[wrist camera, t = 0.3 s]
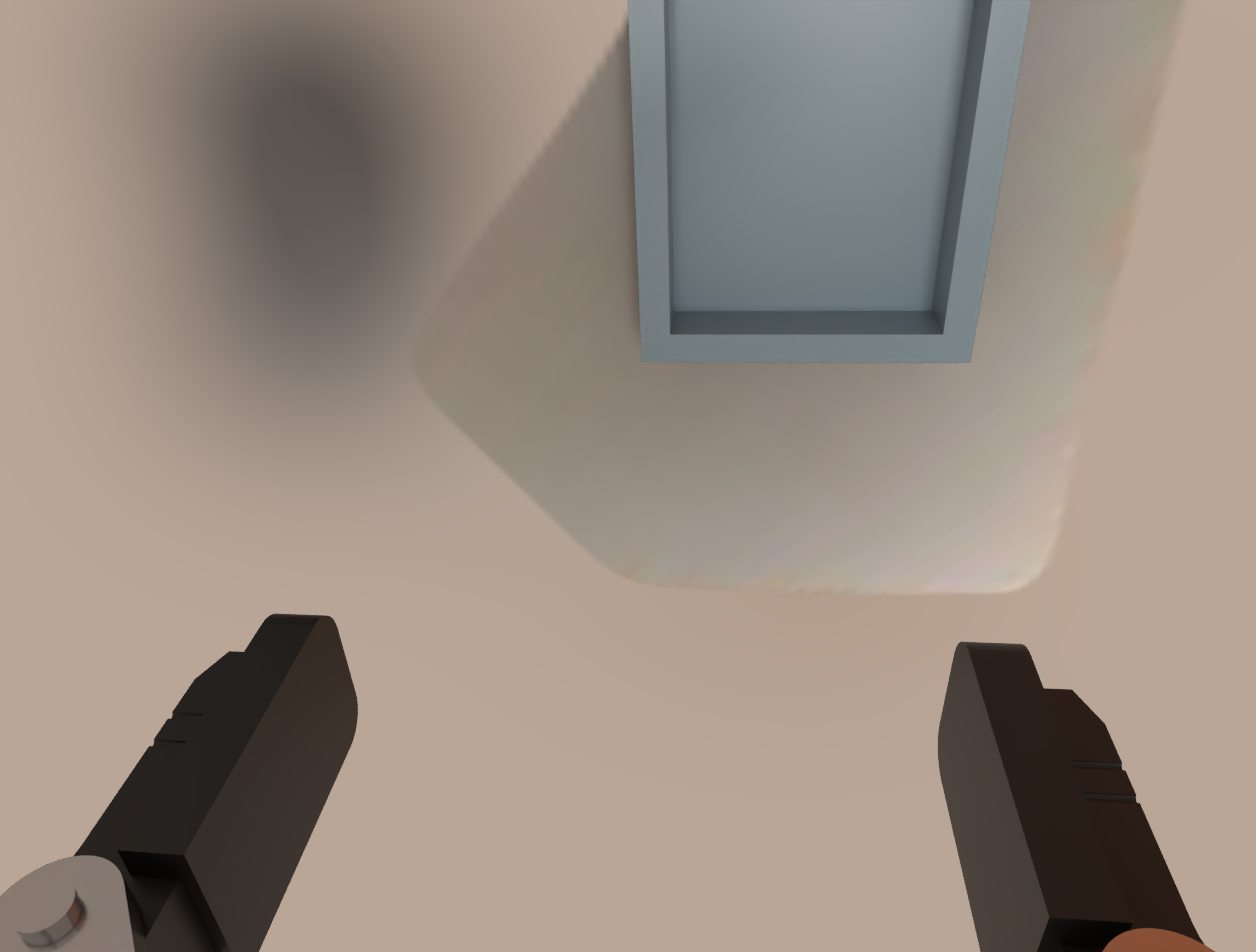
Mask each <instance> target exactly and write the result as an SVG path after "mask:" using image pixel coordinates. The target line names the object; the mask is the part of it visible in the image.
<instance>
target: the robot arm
mask: <svg viewBox="0 0 1256 952" xmlns="http://www.w3.org/2000/svg"><path fill="white" fill-rule="evenodd" d="M172 713H173V716H172V718H171V719H168V720H167V721H166V722H165V724H164V725H163V727H162V728H161V730H160V731H159V733H158V734H157V736H156V737H155V739H154V745H153V746H149V747H148V749H147V750H146V752H145V753H144V755H143V756H142V758H141V759H140V760H139V762H138V763H137V765H136V766H135V768H134V769H133V771H132V772H131V774H130V775H129V777H128V778H127V780H126V781H125V783H124V784H123V786H122V787H121V788H120V790H119V791H118V793H117V794H116V796H115V797H114V799H113V800H112V802H111V803H110V804H109V806H108V807H107V809H106V810H105V812H104V813H103V815H102V816H101V818H100V819H99V821H98V822H97V824H96V825H95V827H94V828H93V829H92V831H91V832H90V834H89V836H88V837H87V838H86V840H85V841H84V843H83V844H82V846H81V847H80V848H79V850H78V851H77V852H76V853H75V855H74V856H73V857H68V858H64V859H60V860H57V861H54V862H52V863H49V864H46V865H44V866H42V867H40V868H39V869H36V870H34V871H33V872H31V873H29V874H28V875H26V876H25V877H23V878H21V879H20V880H19V881H17V882H16V883H15V884H14V885H12V886H11V887H10V888H9V889H7V890H6V891H5V892H4V893H3V894H2V895H1V896H0V952H259V950H260V948H261V945H262V943H263V941H264V939H265V936H266V934H267V932H268V930H269V928H270V925H271V923H272V921H273V918H274V916H275V914H276V912H277V910H278V908H279V905H280V903H281V901H282V899H283V896H284V894H285V892H286V889H287V887H288V885H289V883H290V881H291V878H292V876H293V874H294V872H295V870H296V867H297V865H298V863H299V861H300V858H301V856H302V854H303V852H304V849H305V847H306V845H307V843H308V841H309V838H310V836H311V834H312V831H313V829H314V827H315V825H316V823H317V820H318V818H319V816H320V813H321V811H322V809H323V807H324V805H325V803H326V800H327V798H328V796H329V794H330V791H331V789H332V787H333V785H334V782H335V780H336V778H337V775H338V773H339V771H340V769H341V767H342V764H343V762H344V760H345V758H346V755H347V753H348V751H349V749H350V747H351V744H352V742H353V738H354V735H355V731H356V724H357V716H358V704H357V697H356V692H355V689H354V685H353V682H352V679H351V675H350V671H349V668H348V664H347V661H346V657H345V654H344V650H343V646H342V643H341V639H340V635H339V632H338V628H337V626H336V623H335V621H334V620H333V619H332V618H331V617H330V616H322V615H296V614H295V615H294V614H272V615H270V616H269V617H268V618H266V619H265V621H264V622H263V623H262V625H261V626H260V628H259V629H258V631H257V633H256V634H255V636H254V637H253V639H252V641H251V642H250V643H249V645H248V647H247V648H246V650H245V651H244V652H231V651H229V652H228V653H227V654H225V655H224V656H223V657H222V658H220V659H219V660H218V661H217V662H216V663H214V664H213V665H212V666H211V667H209V668H208V669H207V670H206V671H204V672H203V673H202V674H201V675H200V676H199V677H197V678H196V679H195V680H194V681H193V683H192V684H191V686H190V687H189V689H188V690H187V692H186V693H185V694H184V696H183V698H182V699H181V700H180V702H179V704H178V705H177V706H176V708H175V709H174V711H173V712H172ZM938 760H939V769H940V775H941V781H942V785H943V789H944V794H945V798H946V802H947V807H948V811H949V816H950V820H951V824H952V829H953V833H954V837H955V842H956V846H957V851H958V855H959V859H960V864H961V868H962V872H963V877H964V881H965V885H966V890H967V894H968V899H969V902H970V907H971V911H972V916H973V920H974V925H975V929H976V933H977V938H978V942H979V946H980V951H981V952H1215V951H1213V950H1212V949H1210V948H1209V947H1207V946H1206V945H1204V943H1203V942H1202V940H1201V939H1200V937H1199V935H1198V933H1197V931H1196V929H1195V927H1194V926H1193V923H1192V921H1191V919H1190V917H1189V914H1188V912H1187V910H1186V908H1185V905H1184V903H1183V901H1182V899H1181V896H1180V894H1179V892H1178V889H1177V887H1176V885H1175V883H1174V880H1173V878H1172V876H1171V873H1170V871H1169V869H1168V866H1167V864H1166V862H1165V860H1164V858H1163V855H1162V853H1161V851H1160V848H1159V846H1158V844H1157V841H1156V839H1155V837H1154V835H1153V832H1152V830H1151V828H1150V826H1149V823H1148V821H1147V819H1146V816H1145V814H1144V812H1143V810H1142V807H1141V805H1140V803H1137V802H1136V794H1135V791H1134V789H1133V787H1132V785H1131V782H1130V780H1129V778H1128V775H1127V773H1126V771H1124V770H1122V762H1121V759H1120V757H1119V755H1118V753H1117V750H1116V748H1115V746H1114V744H1113V741H1112V739H1111V737H1110V735H1109V732H1108V730H1107V728H1106V725H1105V724H1104V723H1103V721H1101V719H1100V718H1099V717H1098V716H1097V715H1096V714H1095V713H1094V712H1093V711H1092V710H1091V709H1090V708H1089V707H1088V706H1087V705H1086V704H1085V703H1084V702H1083V701H1082V700H1081V699H1080V698H1079V697H1078V695H1077V694H1076V693H1075V692H1074V691H1073V690H1067V689H1044V688H1043V686H1042V683H1041V681H1040V678H1039V675H1038V673H1037V670H1036V668H1035V665H1034V662H1033V660H1032V657H1031V655H1030V652H1029V651H1028V649H1027V647H1026V646H1024V645H1022V644H1003V643H978V642H977V643H976V642H960V643H959V644H958V645H957V647H956V650H955V654H954V658H953V663H952V668H951V672H950V677H949V682H948V687H947V692H946V696H945V701H944V706H943V711H942V716H941V721H940V726H939V733H938Z"/></svg>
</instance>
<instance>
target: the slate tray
mask: <svg viewBox="0 0 1256 952" xmlns="http://www.w3.org/2000/svg"><path fill="white" fill-rule="evenodd" d="M1030 4H1031V0H628V17H629V44H630V71H631V97H632V124H633V151H634V178H635V204H636V231H637V258H638V285H639V311H640V338H641V362H815V363H970V362H971V356H972V350H973V345H974V339H975V333H976V327H977V321H978V315H979V309H980V303H981V297H982V291H983V285H984V279H985V273H986V267H987V261H988V255H989V249H990V243H991V237H992V231H993V225H994V219H995V213H996V207H997V201H998V195H999V189H1000V183H1001V177H1002V171H1003V165H1004V159H1005V153H1006V147H1007V141H1008V135H1009V129H1010V123H1011V117H1012V111H1013V105H1014V99H1015V93H1016V87H1017V81H1018V75H1019V69H1020V63H1021V57H1022V51H1023V45H1024V40H1025V34H1026V28H1027V22H1028V16H1029V10H1030Z"/></svg>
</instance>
